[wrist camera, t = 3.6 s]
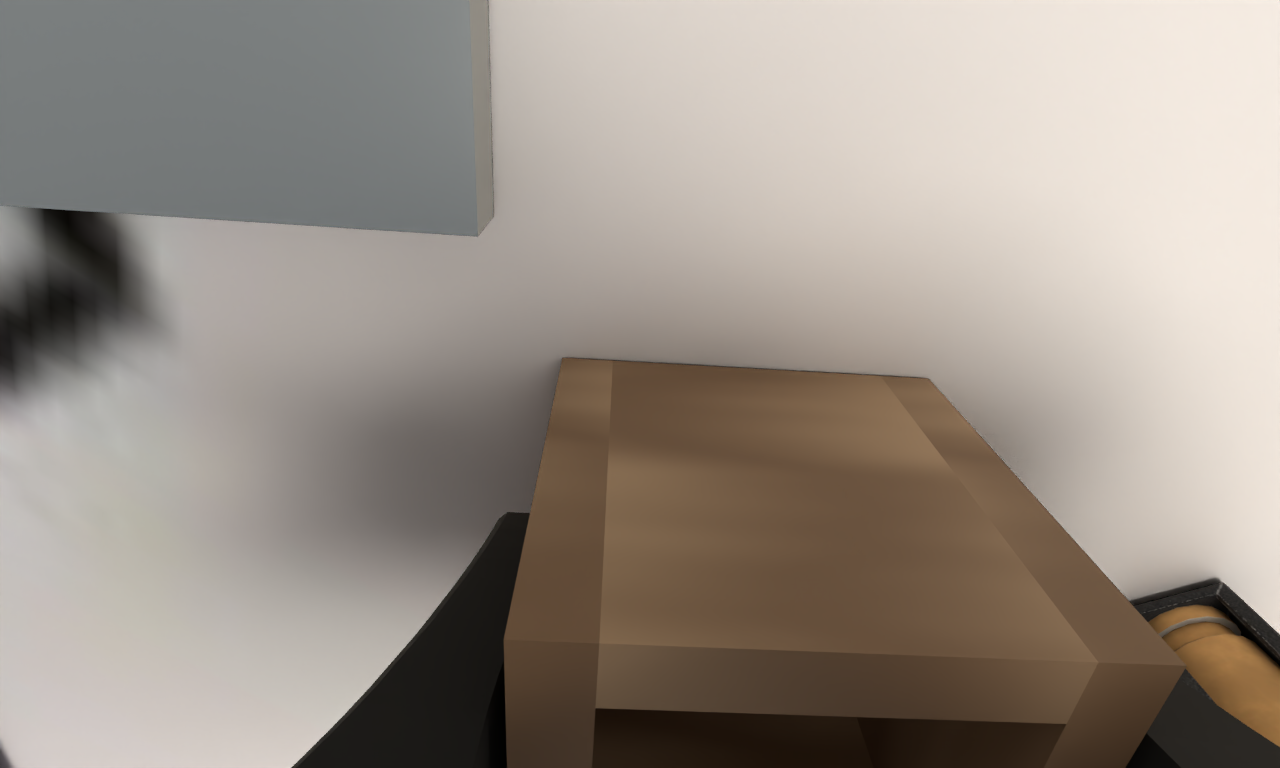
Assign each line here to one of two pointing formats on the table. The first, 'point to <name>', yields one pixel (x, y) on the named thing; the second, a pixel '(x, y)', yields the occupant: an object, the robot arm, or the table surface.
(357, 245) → the table surface
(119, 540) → the table surface
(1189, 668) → the ammunition clip
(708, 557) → the walnut frame
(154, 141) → the gray peg stand
